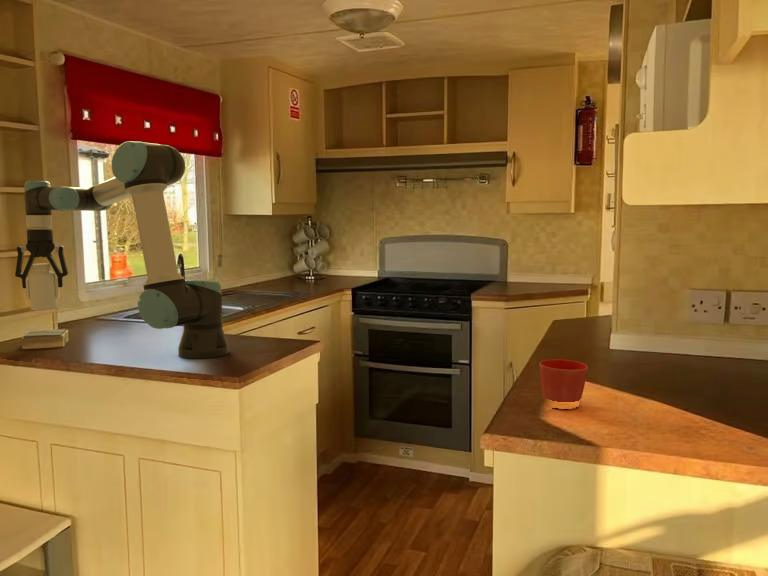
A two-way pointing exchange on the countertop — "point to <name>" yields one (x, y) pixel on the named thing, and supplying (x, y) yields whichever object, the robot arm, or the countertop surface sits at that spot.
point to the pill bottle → (42, 288)
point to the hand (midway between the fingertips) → (43, 297)
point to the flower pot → (563, 380)
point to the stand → (45, 338)
